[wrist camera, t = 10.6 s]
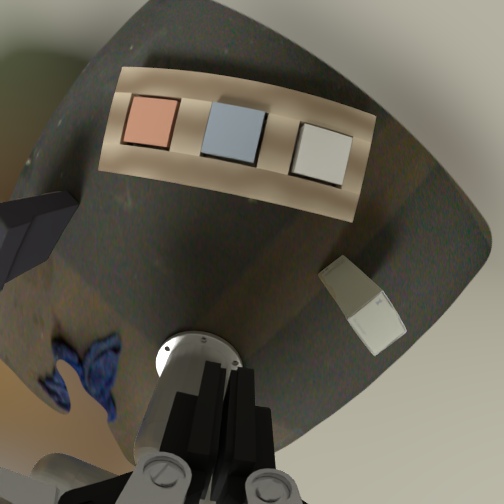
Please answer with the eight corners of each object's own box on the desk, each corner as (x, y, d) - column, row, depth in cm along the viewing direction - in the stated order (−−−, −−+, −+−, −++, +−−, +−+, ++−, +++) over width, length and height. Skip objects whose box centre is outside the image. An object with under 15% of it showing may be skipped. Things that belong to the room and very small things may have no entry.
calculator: (64, 186, 34) (-13, 199, 19) (83, 206, 35) (8, 228, 20) (32, 244, 36) (-36, 275, 21) (49, 263, 37) (-17, 302, 22)
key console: (338, 215, 35) (352, 222, 30) (116, 169, 33) (98, 170, 29) (360, 122, 32) (376, 116, 27) (137, 78, 30) (122, 66, 26)
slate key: (253, 163, 30) (253, 162, 27) (205, 153, 29) (200, 151, 27) (263, 117, 29) (265, 111, 26) (216, 108, 28) (212, 101, 25)
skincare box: (316, 274, 37) (343, 318, 25) (343, 252, 36) (382, 288, 25) (341, 308, 38) (373, 358, 27) (367, 288, 38) (408, 331, 26)
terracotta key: (173, 148, 31) (166, 146, 28) (133, 143, 31) (123, 141, 28) (183, 106, 30) (177, 100, 27) (143, 102, 30) (134, 96, 27)
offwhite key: (333, 183, 31) (342, 185, 28) (289, 172, 31) (294, 172, 28) (343, 140, 30) (352, 137, 27) (300, 127, 30) (305, 123, 27)
